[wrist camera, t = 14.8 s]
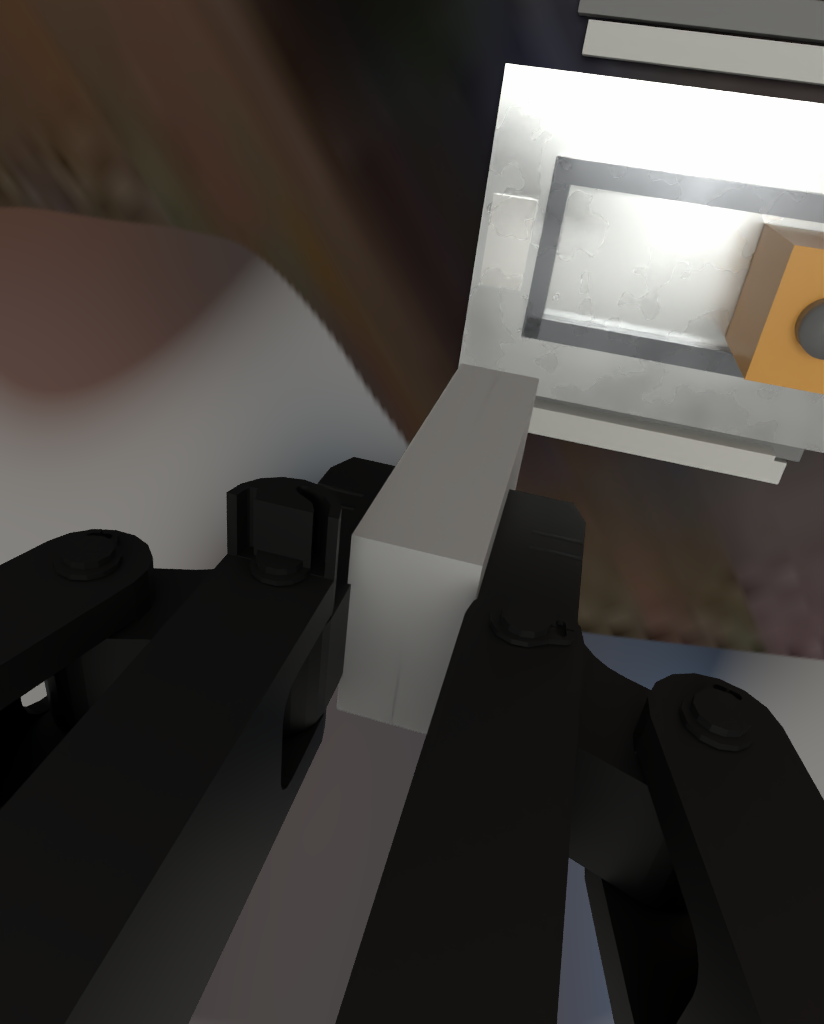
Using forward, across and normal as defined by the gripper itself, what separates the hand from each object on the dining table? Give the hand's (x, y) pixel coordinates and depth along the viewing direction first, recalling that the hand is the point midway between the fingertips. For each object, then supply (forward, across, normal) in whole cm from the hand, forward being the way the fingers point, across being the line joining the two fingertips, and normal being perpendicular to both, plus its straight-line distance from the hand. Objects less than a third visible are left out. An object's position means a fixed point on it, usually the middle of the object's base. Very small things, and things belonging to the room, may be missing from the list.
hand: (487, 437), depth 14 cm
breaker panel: (+24, +6, 0) cm, 25 cm away
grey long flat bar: (+24, +6, +9) cm, 27 cm away
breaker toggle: (+22, +10, 0) cm, 25 cm away
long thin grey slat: (+24, +6, -8) cm, 26 cm away
